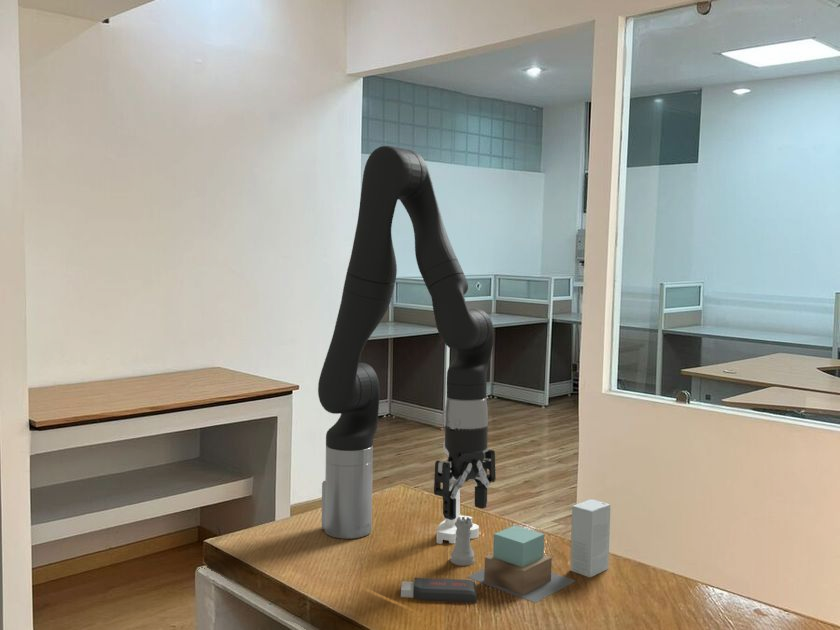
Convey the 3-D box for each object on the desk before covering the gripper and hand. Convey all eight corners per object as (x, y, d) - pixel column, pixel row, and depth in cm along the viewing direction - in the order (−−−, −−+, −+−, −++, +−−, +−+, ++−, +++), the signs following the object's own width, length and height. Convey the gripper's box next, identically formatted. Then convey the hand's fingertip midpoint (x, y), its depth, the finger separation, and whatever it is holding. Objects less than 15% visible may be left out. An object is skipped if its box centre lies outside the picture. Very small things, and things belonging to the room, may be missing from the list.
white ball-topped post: (451, 524, 159) (453, 427, 158) (486, 530, 156) (489, 431, 155) (431, 542, 149) (433, 439, 147) (468, 548, 146) (471, 443, 144)
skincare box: (588, 563, 140) (590, 498, 139) (609, 570, 137) (611, 504, 136) (568, 572, 136) (571, 505, 135) (589, 580, 133) (592, 511, 132)
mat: (466, 579, 132) (466, 576, 132) (508, 559, 141) (508, 557, 141) (535, 605, 123) (535, 602, 123) (575, 583, 131) (575, 580, 131)
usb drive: (476, 607, 122) (477, 590, 122) (400, 604, 123) (400, 587, 123) (475, 593, 127) (476, 577, 127) (402, 590, 128) (402, 574, 128)
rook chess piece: (473, 568, 136) (474, 524, 136) (448, 566, 137) (449, 522, 137) (476, 559, 141) (477, 516, 140) (452, 556, 142) (453, 514, 141)
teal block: (493, 557, 130) (493, 533, 130) (514, 547, 135) (515, 525, 135) (522, 567, 126) (523, 543, 126) (543, 557, 131) (544, 534, 130)
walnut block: (484, 580, 131) (484, 557, 130) (512, 567, 137) (513, 544, 136) (523, 594, 125) (524, 570, 125) (550, 580, 131) (551, 557, 131)
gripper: (475, 414, 145) (474, 500, 146) (423, 425, 134) (422, 517, 135) (507, 419, 140) (506, 508, 141) (456, 431, 129) (455, 527, 130)
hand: (465, 513), depth 138 cm, fingers open, 8 cm apart
